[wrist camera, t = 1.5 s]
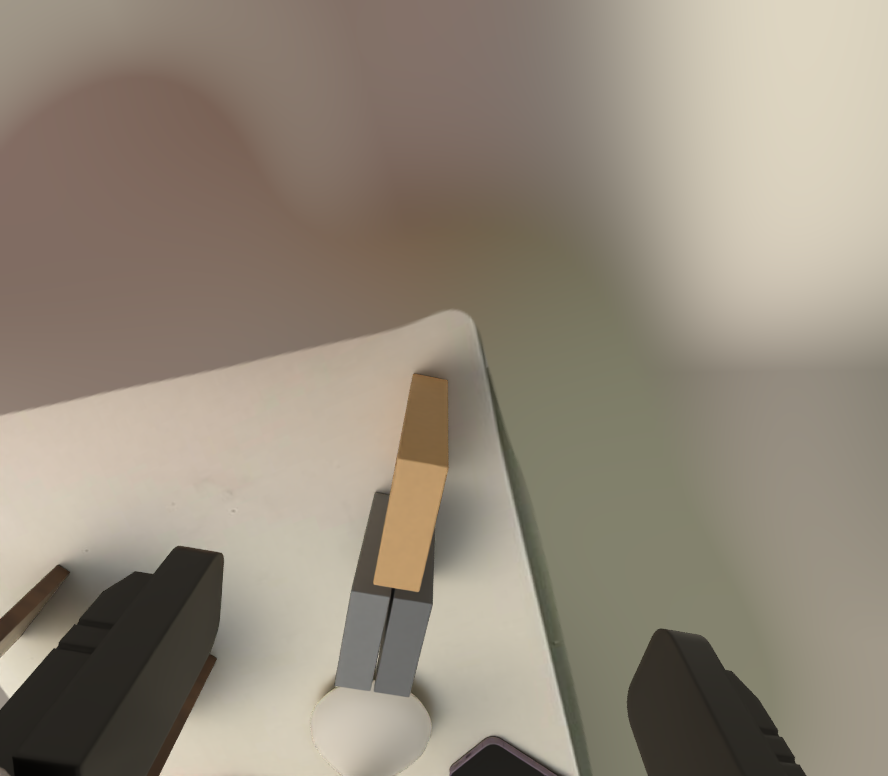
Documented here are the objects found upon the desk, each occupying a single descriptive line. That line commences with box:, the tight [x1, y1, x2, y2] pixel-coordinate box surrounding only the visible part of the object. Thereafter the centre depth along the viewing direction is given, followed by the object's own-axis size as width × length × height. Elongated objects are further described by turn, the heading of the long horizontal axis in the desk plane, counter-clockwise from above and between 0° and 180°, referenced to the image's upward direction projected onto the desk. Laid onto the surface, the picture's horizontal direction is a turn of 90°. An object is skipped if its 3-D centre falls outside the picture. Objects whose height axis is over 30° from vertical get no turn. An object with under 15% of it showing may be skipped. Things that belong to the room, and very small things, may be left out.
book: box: [373, 374, 449, 592], centre depth 33 cm, size 3×8×13 cm, turn 168°
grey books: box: [335, 493, 435, 697], centre depth 37 cm, size 5×8×11 cm, turn 168°
